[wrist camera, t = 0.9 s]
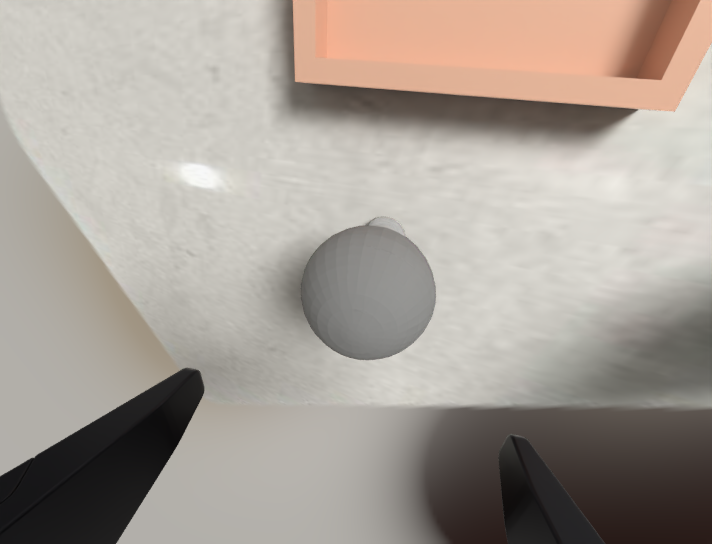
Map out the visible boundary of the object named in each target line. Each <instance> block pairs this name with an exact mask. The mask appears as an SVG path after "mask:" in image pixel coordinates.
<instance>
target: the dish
mask: <svg viewBox="0 0 712 544" xmlns="http://www.w3.org/2000/svg"><path fill="white" fill-rule="evenodd" d="M293 25H294V62H295V82H301V83H310V84H322V85H334V86H347V87H360V88H373V89H385V90H398V91H411V92H424V93H436V94H449V95H462V96H475V97H487V98H500V99H513V100H526V101H538V102H551V103H564V104H576V105H589V106H602V107H615V108H627V109H640V110H658V111H675V110H676V108H677V107H678V105H679V103H680V101H681V99H682V97H683V95H684V93H685V91H686V90H687V88H688V86H689V84H690V82H691V80H692V78H693V76H694V75H695V73H696V71H697V69H698V67H699V65H700V63H701V61H702V60H703V58H704V56H705V54H706V52H707V50H708V48H709V46H710V45H711V43H712V0H293Z"/></svg>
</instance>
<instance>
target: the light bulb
mask: <svg viewBox="0 0 712 544" xmlns="http://www.w3.org/2000/svg"><path fill="white" fill-rule="evenodd" d="M301 300H302V305H303V309H304V313H305V316H306V318H307V320H308V322H309V324H310V327H311V328H312V330H313V331H314V333H315V334H316V335H317V336H318V337H319V338H320V339H321V340H322V341H323V342H324V343H325V344H326V345H327V346H328V347H330V348H331V349H332V350H334V351H336V352H338V353H339V354H341V355H344V356H347V357H349V358H354V359H359V360H375V359H382V358H386V357H390V356H392V355H395V354H397V353H399V352H401V351H403V350H404V349H406V348H407V347H408V346H410V345H411V344H412V343H414V342H415V341H416V340H417V338H418V337H419V336H420V335H421V334H422V333H423V332H424V330H425V328H426V327H427V325H428V323H429V321H430V320H431V317H432V314H433V311H434V307H435V300H436V288H435V282H434V278H433V273H432V270H431V268H430V266H429V264H428V262H427V260H426V258H425V256H424V255H423V254H422V252H421V251H420V250H419V249H418V247H417V246H416V245H415V244H414V243H413V242H411V241H410V240H409V239H408V238H407V237H405V232H404V229H403V227H402V226H401V224H400V223H399V222H398V221H396V220H395V219H393V218H390V217H378V218H376V219H374V220H372V221H371V222H370V223H369V224H368V226H358V227H353V228H349V229H346V230H344V231H342V232H339V233H337V234H335V235H333V236H332V237H330V238H329V239H328V240H326V241H325V242H324V243H323V244H321V245H320V246H319V248H318V249H317V250H316V251H315V252H314V254H313V255H312V256H311V258H310V259H309V261H308V263H307V265H306V267H305V270H304V274H303V278H302V283H301Z"/></svg>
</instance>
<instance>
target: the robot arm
mask: <svg viewBox="0 0 712 544" xmlns="http://www.w3.org/2000/svg"><path fill="white" fill-rule="evenodd" d="M203 394H204V384H203V380H202V377H201V373H200V371H199V370H196V369H191V368H185V369H182V370H180V371H179V372H177V373H175V374H174V375H172V376H170V377H169V378H167V379H165V380H164V381H162V382H160V383H158V384H157V385H155V386H153V387H152V388H150V389H148V390H147V391H145V392H143V393H141V394H140V395H138V396H136V397H135V398H133V399H131V400H129V401H128V402H126V403H124V404H123V405H121V406H119V407H118V408H116V409H114V410H112V411H111V412H109V413H107V414H106V415H104V416H102V417H101V418H99V419H97V420H95V421H94V422H92V423H90V424H89V425H87V426H85V427H84V428H82V429H80V430H78V431H77V432H75V433H73V434H72V435H70V436H68V437H67V438H65V439H63V440H61V441H60V442H58V443H56V444H55V445H53V446H51V447H50V448H48V449H46V450H45V451H43V452H41V453H39V454H38V455H37V456H35V458H31V459H29V460H27V461H26V462H24V463H22V464H20V465H19V466H17V467H16V468H14V469H12V470H10V471H8V472H7V473H5V474H3V475H2V476H0V544H116V543H117V541H118V540H119V538H120V537H121V535H122V533H123V532H124V530H125V529H126V527H127V525H128V524H129V522H130V521H131V519H132V517H133V516H134V514H135V513H136V511H137V509H138V508H139V506H140V505H141V503H142V501H143V500H144V498H145V497H146V495H147V493H148V492H149V490H150V489H151V487H152V486H153V484H154V482H155V481H156V479H157V478H158V476H159V474H160V473H161V471H162V470H163V468H164V466H165V465H166V463H167V462H168V460H169V458H170V456H171V455H172V453H173V452H174V450H175V449H176V447H177V445H178V443H179V441H180V440H181V438H182V436H183V434H184V432H185V430H186V428H187V426H188V424H189V422H190V420H191V418H192V416H193V414H194V412H195V410H196V408H197V406H198V404H199V402H200V400H201V398H202V396H203ZM499 469H500V479H501V491H502V503H503V514H504V522H505V529H506V535H507V540H508V544H605V543H604V542H603V540H602V539H601V538H600V536H599V535H598V534H597V532H596V531H595V530H594V528H593V527H592V526H591V524H590V523H589V521H588V520H587V519H586V517H585V516H584V515H583V513H582V512H581V511H580V509H579V508H578V507H577V505H576V504H575V503H574V501H573V500H572V499H571V497H570V496H569V495H568V493H567V492H566V490H565V489H564V488H563V486H562V485H561V484H560V482H559V481H558V480H557V478H556V477H555V476H554V474H553V473H552V472H551V470H550V469H549V468H548V466H547V465H546V463H545V462H544V461H543V459H542V458H541V457H540V455H539V454H538V453H537V451H536V450H535V449H534V447H533V446H532V445H531V444H530V442H529V441H528V440H527V439H526V438H525V437H523V436H518V435H513V434H510V435H508V436H507V438H506V440H505V441H504V443H503V445H502V447H501V449H500V451H499Z"/></svg>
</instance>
